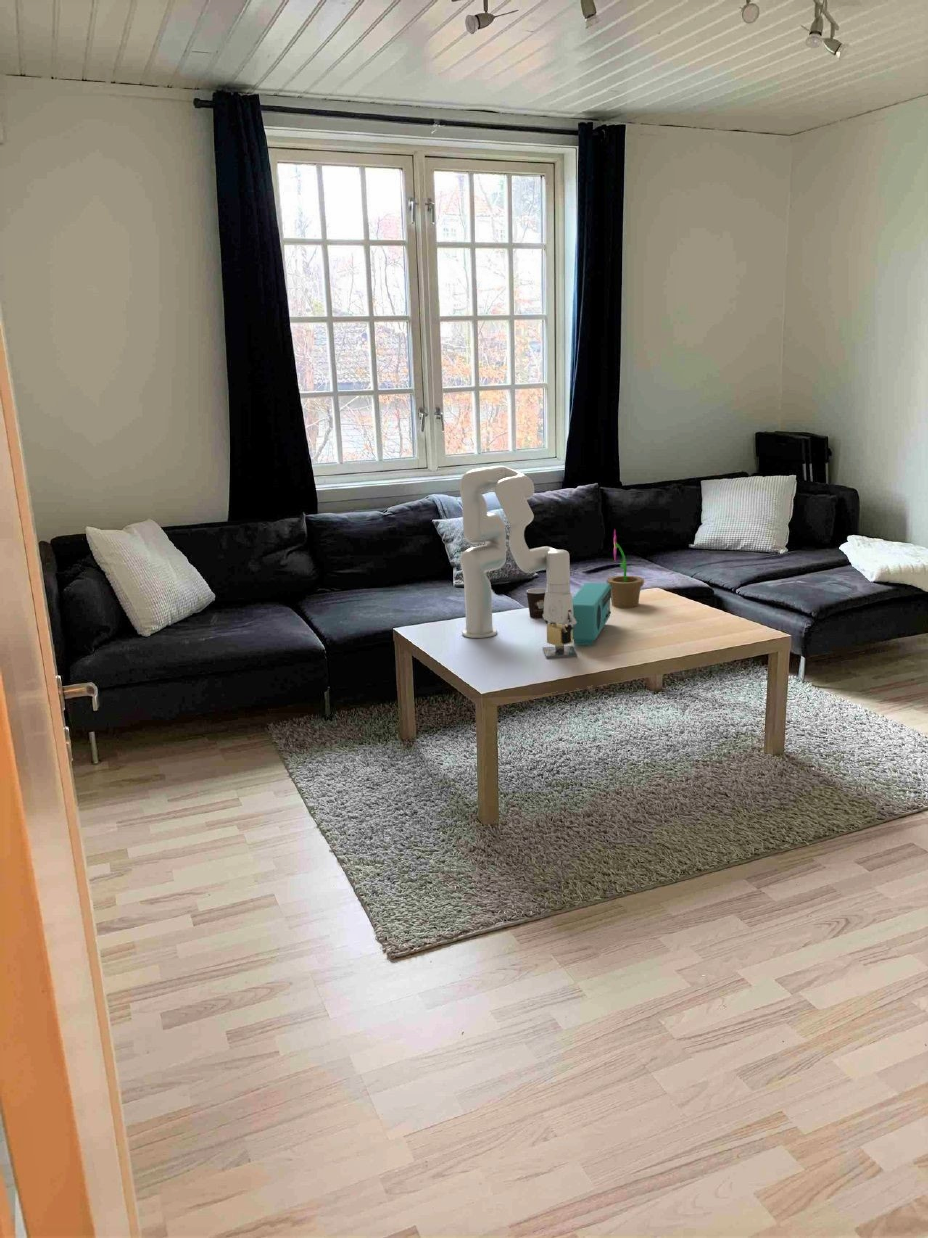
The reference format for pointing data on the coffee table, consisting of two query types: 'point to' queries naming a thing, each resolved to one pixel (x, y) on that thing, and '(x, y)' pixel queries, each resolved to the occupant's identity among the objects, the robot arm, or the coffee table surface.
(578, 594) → the radio
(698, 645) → the coffee table surface
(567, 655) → the stud plate
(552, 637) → the pale yellow cube
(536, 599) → the coffee mug
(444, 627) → the coffee table surface
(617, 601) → the flowerpot
